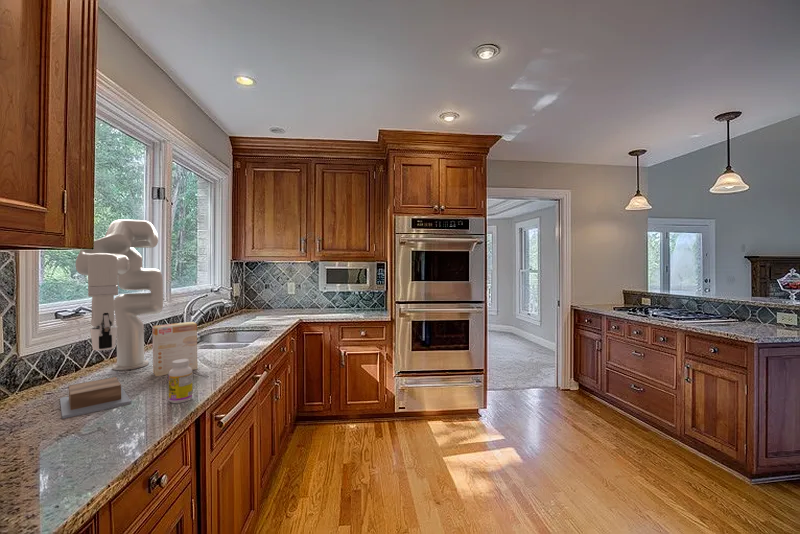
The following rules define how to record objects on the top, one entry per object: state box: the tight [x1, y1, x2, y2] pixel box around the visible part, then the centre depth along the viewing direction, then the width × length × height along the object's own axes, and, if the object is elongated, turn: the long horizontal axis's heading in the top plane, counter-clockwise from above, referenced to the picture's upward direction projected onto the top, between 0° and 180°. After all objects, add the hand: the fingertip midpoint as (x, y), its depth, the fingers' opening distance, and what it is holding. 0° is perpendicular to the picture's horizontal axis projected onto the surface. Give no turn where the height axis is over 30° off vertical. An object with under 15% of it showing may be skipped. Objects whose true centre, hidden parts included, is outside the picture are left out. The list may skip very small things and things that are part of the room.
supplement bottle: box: [168, 359, 194, 404], centre depth 117 cm, size 7×7×13 cm
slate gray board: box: [59, 385, 132, 420], centre depth 116 cm, size 20×16×1 cm
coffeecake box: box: [151, 321, 199, 377], centre depth 149 cm, size 15×7×20 cm, turn 133°
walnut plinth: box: [68, 376, 122, 410], centre depth 116 cm, size 12×12×5 cm
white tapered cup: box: [89, 325, 117, 351], centre depth 117 cm, size 7×7×7 cm
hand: (104, 346), depth 117 cm, fingers closed on white tapered cup, 5 cm apart
